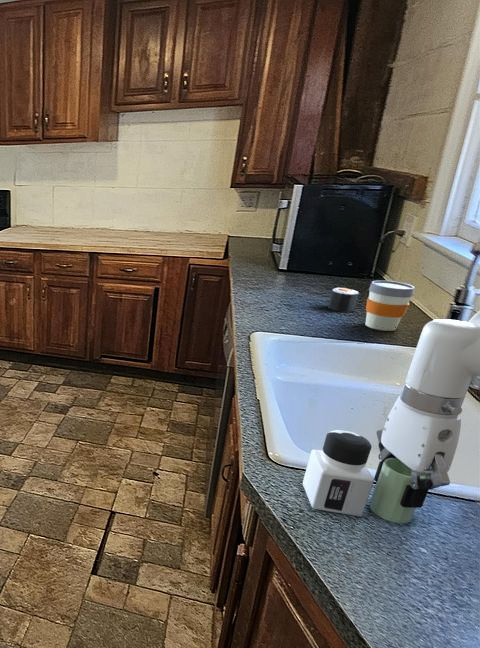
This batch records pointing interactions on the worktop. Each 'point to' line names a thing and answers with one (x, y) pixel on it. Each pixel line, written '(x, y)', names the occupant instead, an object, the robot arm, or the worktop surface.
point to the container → (339, 474)
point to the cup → (392, 492)
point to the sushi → (343, 299)
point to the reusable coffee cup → (387, 304)
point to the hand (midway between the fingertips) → (396, 492)
